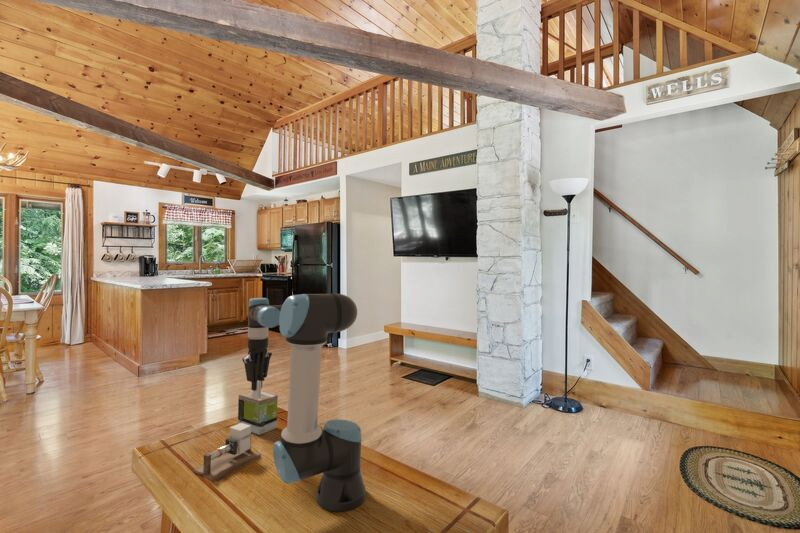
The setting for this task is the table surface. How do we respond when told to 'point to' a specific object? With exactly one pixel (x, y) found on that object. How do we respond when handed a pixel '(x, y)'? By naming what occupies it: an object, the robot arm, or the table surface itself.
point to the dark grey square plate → (233, 446)
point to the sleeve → (241, 436)
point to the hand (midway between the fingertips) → (256, 397)
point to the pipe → (222, 451)
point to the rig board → (225, 464)
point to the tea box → (258, 411)
